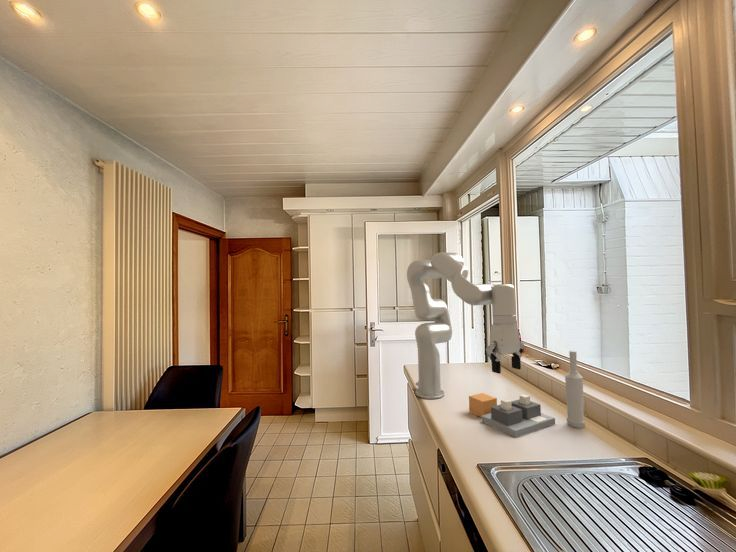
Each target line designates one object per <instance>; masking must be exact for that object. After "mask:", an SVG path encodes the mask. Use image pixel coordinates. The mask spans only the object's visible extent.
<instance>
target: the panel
mask: <svg viewBox="0 0 736 552" xmlns="http://www.w3.org/2000/svg"><path fill="white" fill-rule="evenodd" d="M511 401H512V410H508V411H506V410H504V409H501V403H500V404H497V406H493V407H491V413H490V414H486V415H482V418H481V422H482V423H484V424H486V425H488V426H490V427H493V428H495V429H497V430H498V431H499V430H500V431H502V432H503V433H505V434H508V435H509V436H512V437H514V438H518V437H521V436H524V435H526V434H530V433H533V432H536V431H538V430H542V429H544V428H547V427H550V426H553V425H555V424H556V418H555V417H553V416H550V415H548V414H545V413H542V411H541V407H542V406H541V404H540V403H538V402H534V401H532V400H530V404H529V405H523V404H520V398H519V399H516V400H511Z"/></svg>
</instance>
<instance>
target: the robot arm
mask: <svg viewBox="0 0 736 552" xmlns="http://www.w3.org/2000/svg"><path fill="white" fill-rule="evenodd" d="M464 264H465V261H464V258H463V257H462V256H461V255H460V254H459V253H458V252H445V251H442V252H438V253H435V254H434V255H433V256H432V257H431V259H417V260H414V261H411V263H410V264H409V265H408V267H407V270H406V280H407V283H408V285H409V288H410V292H411V298H412V304H413V309H414V315H415V317H416V318H417V319H418V320H420V321H429V320H433V321H432V322H425V323H421V324H419V325H417V327H416V328H415V332H414V336H415V340H416V347H417V348H416V349H417V363H418V364H417V365H418V366H417V367H418V368H417V369H418V381H416V382H415V385H416V386H417V389H415V395H416V396H417V397H418V398H421V399H427V400H431V399H432V400H434V399H435V400H436V399H440V398H443V397H444V396H445V391H444V390H443V389H441V359H440V357H441V355H440V352H439V349H438V348H437V346H436V345H437V344H443V343H447V342H449V341H450V340H451V339H452V337H453V326H452V322H451V317H450V316H451V315H450V312H449V307H448V305H447V303H446V302H445V301H444V300H443V299H441V298H433V297H432V295H431V290H430V287H429V285H428V283H427V282H426V281H425V280H426V279H428V280H429V279H432V280H433V279H434V280H435V279H442V278H445V279H446V281H449V283H450V284H451V288H452V291H453V293H454V294H455V296H457V297H458V298H459V299H460V300H461V301H463V302H465V303H466V304H468V305H469V306H487V305H488V306H489V305H491V306H492V307H491V308H492V309H491V313H492V324H491V325H490V333H489V345H488V346H487V347H486V348H485V351H486V353H487V356H488V358H489V360H490V361H491V372H492V373H494V374H495V373H496V374H501V372H502V369H501V368H502V366H501V361H500V358H501V357H502V356H504V355H505V356H506V355H510V354H511V368H512V369H514V370H515V369H516V370H521V369H522V367H521V366H522V364H521V363H522V362H521V357H522V354H523V352H524V350H523V349H524V347H525V343H524V342H523V341H521V340H520V333H519V328H518V324H517V306H516V305H517V304H516V302H517V301H516V289H515V286H514V284H509V283H507V284H506V283H505V284H504V283H503V284H492V283H491V284H490V283H479V284H474V283H472V282H471V281H469V279H467V278H468V276H469V268H468V267H467V266H466V265H464Z"/></svg>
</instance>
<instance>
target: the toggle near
mask: <svg viewBox="0 0 736 552" xmlns="http://www.w3.org/2000/svg"><path fill="white" fill-rule="evenodd" d="M512 401H513V400H510V399H507V398H505V399H504V398H503V399H500V404H501V409H504V410H506V411H508V410H512Z"/></svg>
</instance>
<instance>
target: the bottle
mask: <svg viewBox="0 0 736 552" xmlns="http://www.w3.org/2000/svg"><path fill="white" fill-rule="evenodd" d="M577 355H578V353H577V351H576V350H569V355H568V356H569V368H570V369H569V371H568V372H567V373H566V374H565V375H564V379H565V380H564V381H565V383H564V384H565V395H566V396H565V397H566V398H565V399H566V412H567V417H566V423H567V425H568V426H569V427H572V428H574V429H575V428H576V429H582V428H584V427H585V425H586V424H585V423H586V421H585V420H584V418H585V417H584V414H585V413H584V377H583V376H582V375H581V374H580V373H579V371H578V361H577Z"/></svg>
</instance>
